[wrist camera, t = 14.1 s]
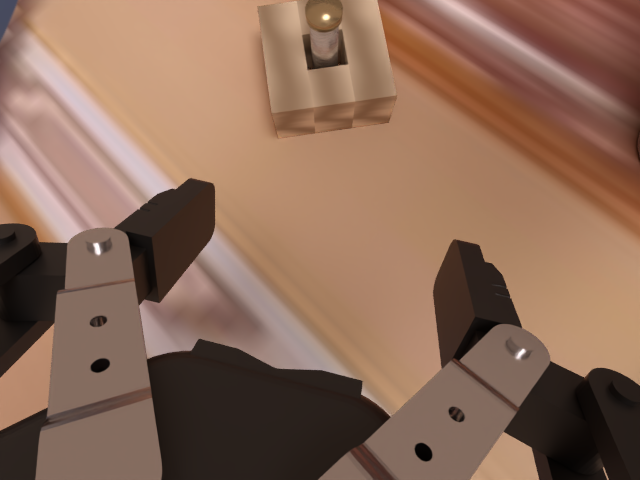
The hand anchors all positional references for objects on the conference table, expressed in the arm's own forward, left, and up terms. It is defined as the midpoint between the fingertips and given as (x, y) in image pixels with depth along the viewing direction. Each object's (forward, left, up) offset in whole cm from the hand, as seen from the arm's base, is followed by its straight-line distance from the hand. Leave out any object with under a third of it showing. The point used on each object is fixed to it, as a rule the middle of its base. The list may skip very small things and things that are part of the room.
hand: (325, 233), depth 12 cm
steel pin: (-3, -23, -25) cm, 34 cm away
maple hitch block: (-3, -23, -25) cm, 34 cm away
